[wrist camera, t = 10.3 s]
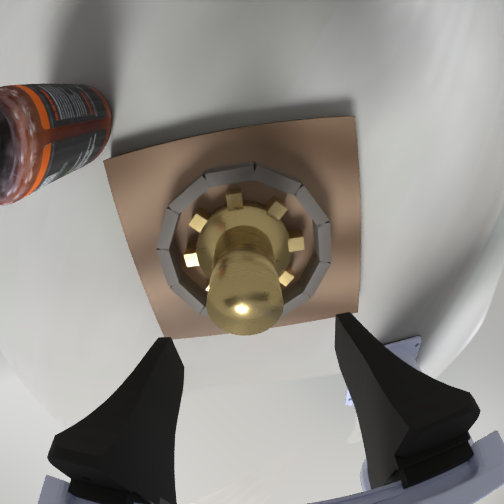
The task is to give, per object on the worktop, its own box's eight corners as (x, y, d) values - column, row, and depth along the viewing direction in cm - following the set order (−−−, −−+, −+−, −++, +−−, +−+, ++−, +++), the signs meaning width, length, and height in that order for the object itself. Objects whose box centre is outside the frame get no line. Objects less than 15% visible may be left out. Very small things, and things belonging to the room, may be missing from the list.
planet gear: (304, 283, 21) (325, 350, 15) (201, 298, 22) (189, 367, 16) (294, 179, 18) (322, 218, 12) (174, 199, 18) (142, 246, 12)
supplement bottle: (64, 75, 15) (-58, 77, 5) (128, 100, 16) (13, 105, 6) (38, 149, 17) (-74, 199, 7) (96, 179, 18) (-10, 252, 8)
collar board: (353, 303, 24) (363, 324, 21) (168, 330, 25) (162, 353, 22) (348, 115, 17) (364, 117, 15) (110, 157, 18) (92, 165, 15)
